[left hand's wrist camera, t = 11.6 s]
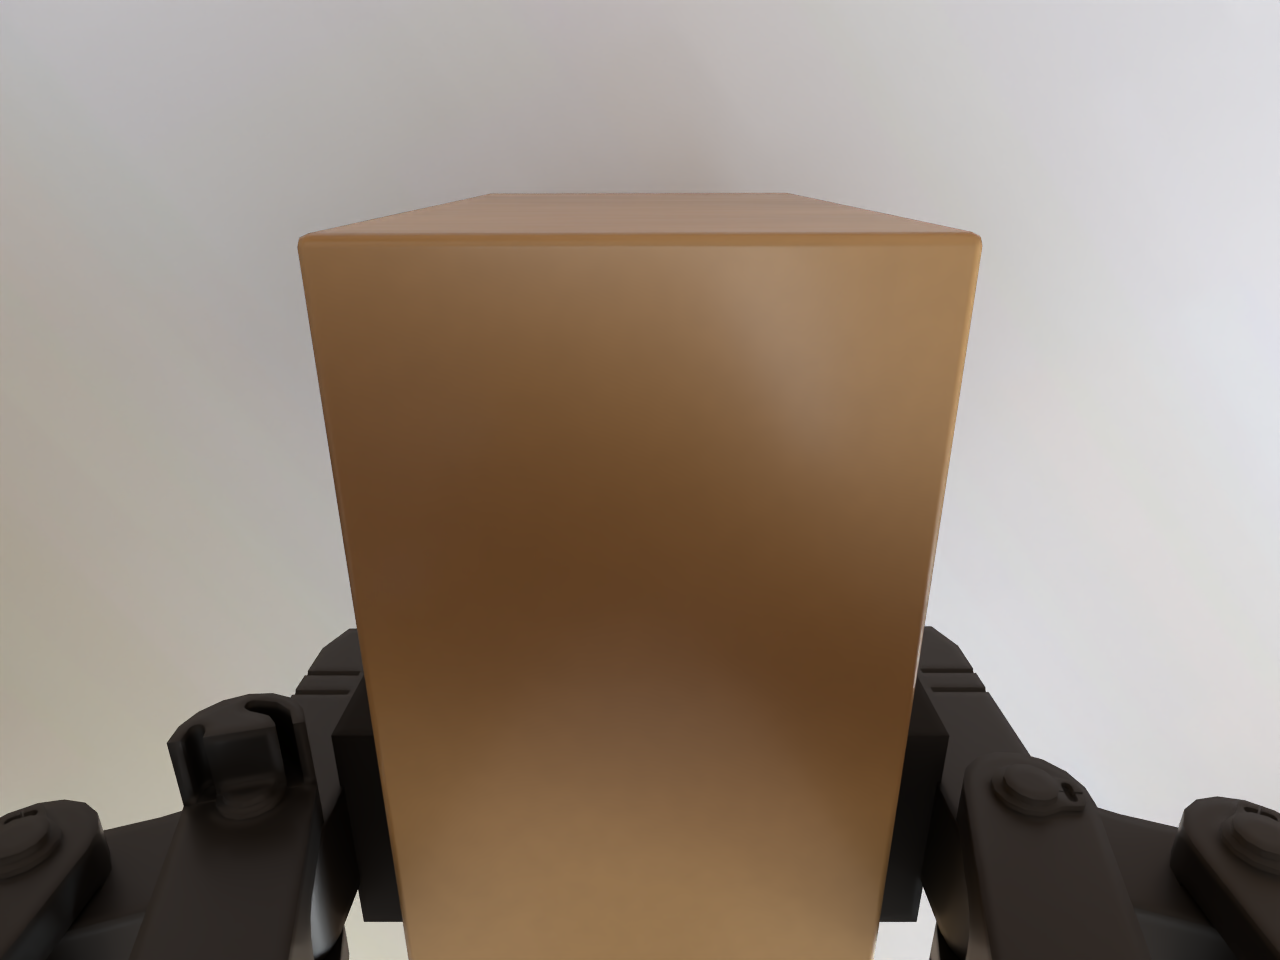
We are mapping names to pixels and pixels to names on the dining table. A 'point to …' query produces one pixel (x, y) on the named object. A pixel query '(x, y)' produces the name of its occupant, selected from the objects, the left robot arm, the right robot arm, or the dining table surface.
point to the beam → (640, 557)
